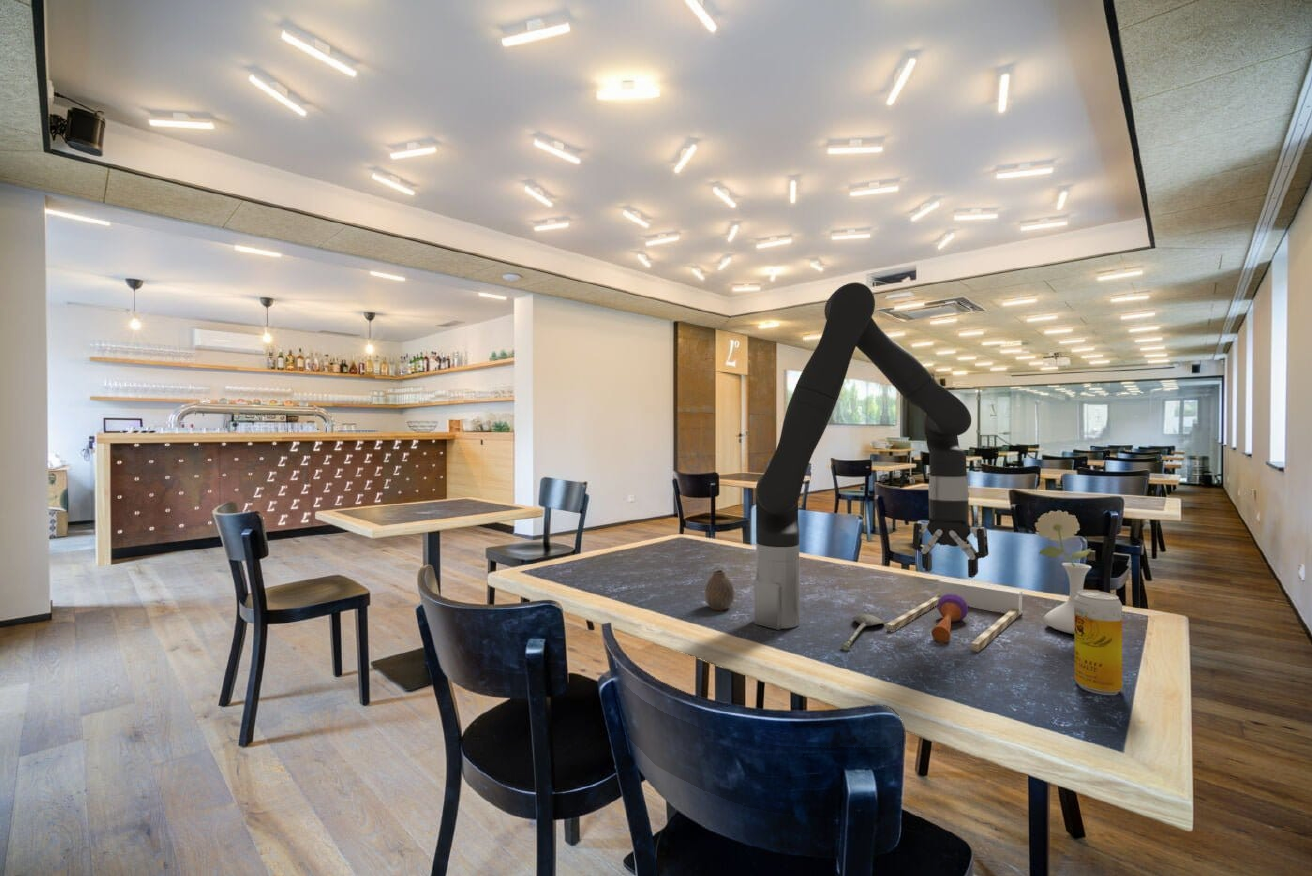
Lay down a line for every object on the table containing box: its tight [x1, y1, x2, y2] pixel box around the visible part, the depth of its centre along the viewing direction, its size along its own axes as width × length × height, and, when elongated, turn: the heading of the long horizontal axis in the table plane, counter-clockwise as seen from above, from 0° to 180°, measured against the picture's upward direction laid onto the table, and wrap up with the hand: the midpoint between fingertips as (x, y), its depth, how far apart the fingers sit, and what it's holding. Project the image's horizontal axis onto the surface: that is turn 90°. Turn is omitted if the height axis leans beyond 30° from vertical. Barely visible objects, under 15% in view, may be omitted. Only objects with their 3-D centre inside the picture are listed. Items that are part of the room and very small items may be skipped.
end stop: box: [937, 578, 1023, 616], centre depth 137 cm, size 3×17×5 cm, turn 46°
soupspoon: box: [840, 613, 886, 652], centre depth 118 cm, size 22×3×7 cm
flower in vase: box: [1034, 509, 1092, 635], centre depth 120 cm, size 13×11×25 cm
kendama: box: [931, 593, 969, 643], centre depth 122 cm, size 6×6×20 cm
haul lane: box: [886, 594, 1020, 653], centre depth 125 cm, size 31×17×2 cm, turn 136°
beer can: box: [1073, 590, 1123, 696], centre depth 92 cm, size 6×6×15 cm
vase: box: [704, 569, 735, 611], centre depth 137 cm, size 7×7×9 cm
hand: (949, 573), depth 122 cm, fingers open, 8 cm apart
